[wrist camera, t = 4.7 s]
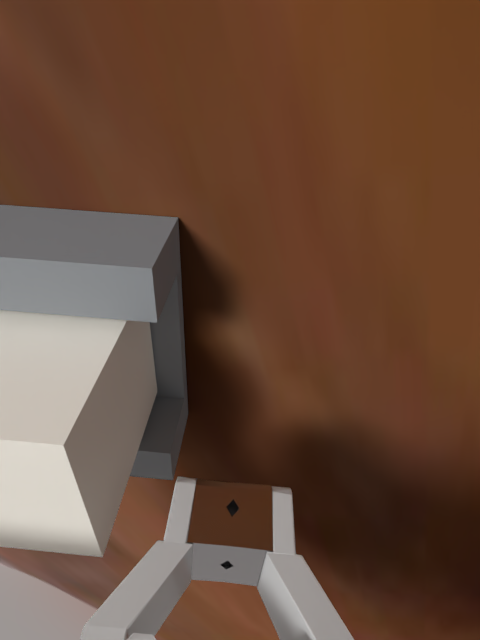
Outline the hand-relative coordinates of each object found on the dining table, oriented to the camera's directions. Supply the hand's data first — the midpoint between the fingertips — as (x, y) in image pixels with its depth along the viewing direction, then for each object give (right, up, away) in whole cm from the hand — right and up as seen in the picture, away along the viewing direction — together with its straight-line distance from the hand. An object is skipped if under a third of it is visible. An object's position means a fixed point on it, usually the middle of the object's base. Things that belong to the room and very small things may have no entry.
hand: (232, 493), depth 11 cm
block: (-6, +4, +3) cm, 8 cm away
